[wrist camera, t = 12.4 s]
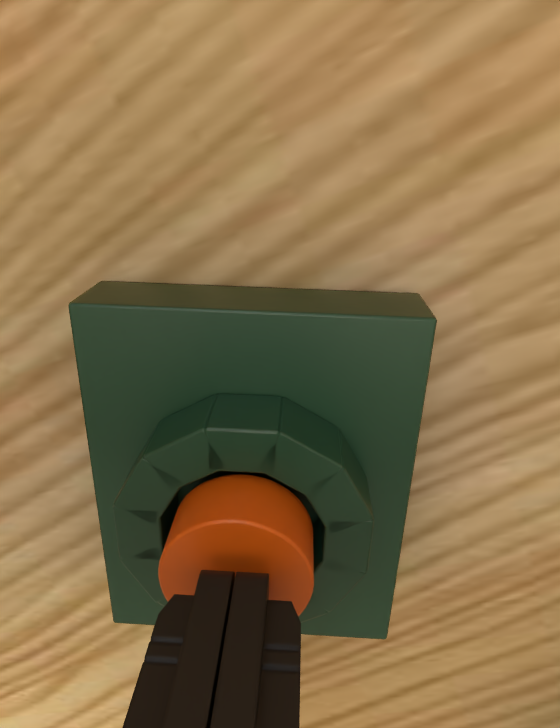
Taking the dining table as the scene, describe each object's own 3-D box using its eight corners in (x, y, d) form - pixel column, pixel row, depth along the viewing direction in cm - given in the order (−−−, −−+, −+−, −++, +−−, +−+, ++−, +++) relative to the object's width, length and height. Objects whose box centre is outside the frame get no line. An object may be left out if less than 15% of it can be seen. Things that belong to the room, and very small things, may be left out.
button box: (99, 280, 15) (30, 328, 11) (419, 292, 14) (457, 347, 11) (133, 572, 19) (92, 675, 15) (378, 586, 19) (395, 695, 15)
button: (171, 468, 13) (151, 516, 11) (317, 476, 13) (318, 525, 11) (178, 577, 14) (162, 633, 13) (309, 585, 14) (310, 642, 13)
